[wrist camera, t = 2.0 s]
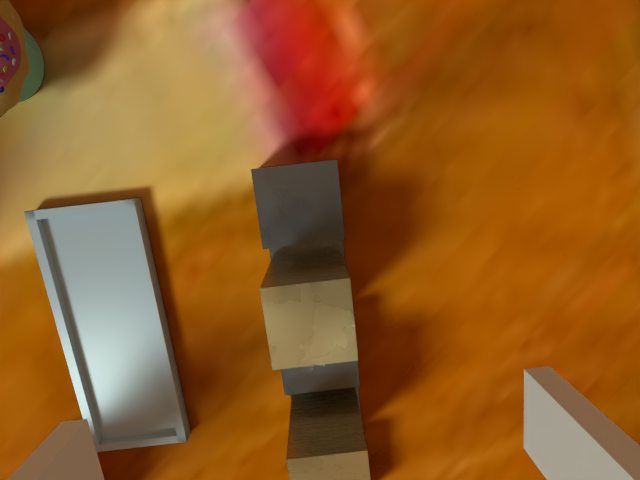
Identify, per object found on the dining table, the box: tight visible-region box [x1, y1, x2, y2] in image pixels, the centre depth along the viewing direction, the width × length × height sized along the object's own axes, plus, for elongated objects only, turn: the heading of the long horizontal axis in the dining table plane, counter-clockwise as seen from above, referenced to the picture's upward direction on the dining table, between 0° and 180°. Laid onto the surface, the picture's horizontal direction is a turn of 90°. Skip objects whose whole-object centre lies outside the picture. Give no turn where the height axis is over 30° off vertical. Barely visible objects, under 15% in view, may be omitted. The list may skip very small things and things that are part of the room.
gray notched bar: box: [251, 159, 361, 414], centre depth 26 cm, size 26×5×3 cm, turn 6°
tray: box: [24, 198, 191, 452], centre depth 26 cm, size 18×7×1 cm, turn 7°
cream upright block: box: [286, 387, 370, 480], centre depth 25 cm, size 4×4×7 cm
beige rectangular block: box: [260, 246, 358, 370], centre depth 22 cm, size 4×4×7 cm
